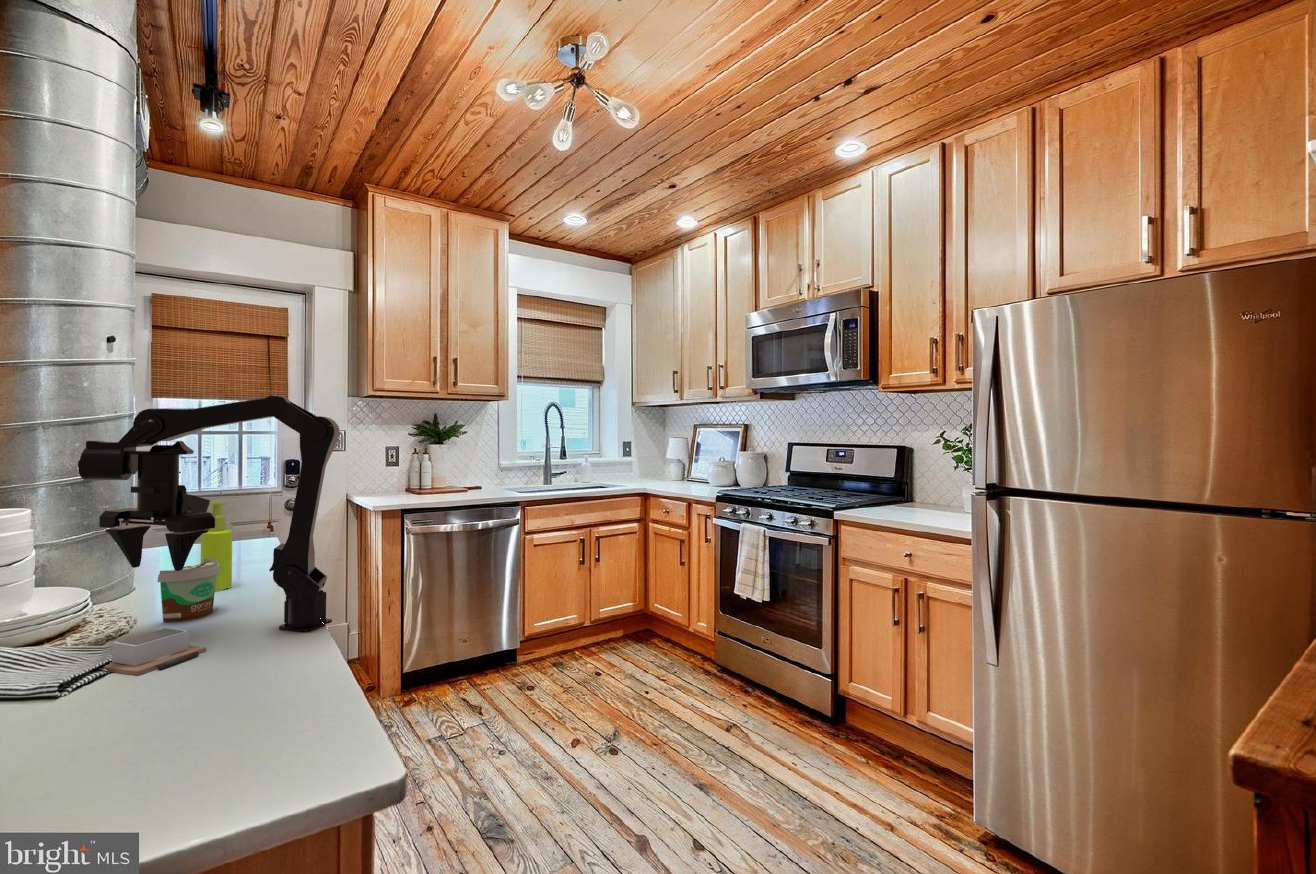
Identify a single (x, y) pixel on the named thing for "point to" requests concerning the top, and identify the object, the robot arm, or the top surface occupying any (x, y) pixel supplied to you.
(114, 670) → the cutting board
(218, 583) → the soap dispenser
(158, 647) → the white rectangular block
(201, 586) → the food container
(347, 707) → the top surface
